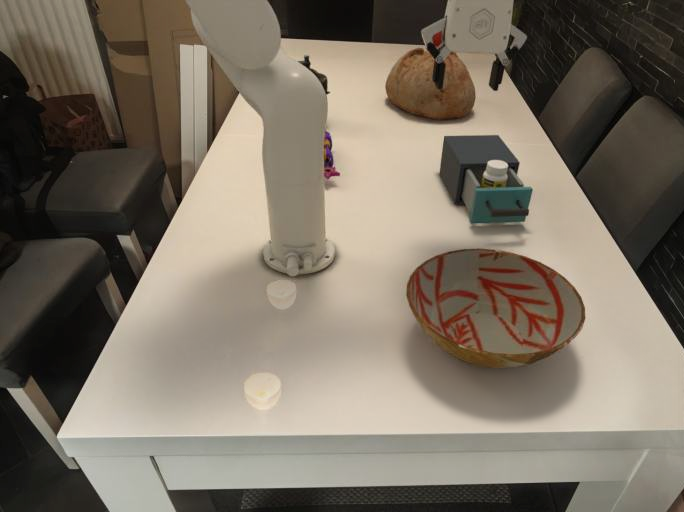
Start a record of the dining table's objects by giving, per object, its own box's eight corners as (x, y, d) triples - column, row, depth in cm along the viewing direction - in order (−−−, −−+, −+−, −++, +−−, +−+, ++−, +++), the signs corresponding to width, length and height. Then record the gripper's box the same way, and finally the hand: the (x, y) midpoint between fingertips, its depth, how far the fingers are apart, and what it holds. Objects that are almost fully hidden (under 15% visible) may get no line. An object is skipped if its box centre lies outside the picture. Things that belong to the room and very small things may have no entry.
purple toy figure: (336, 142, 136) (335, 90, 127) (340, 189, 117) (340, 131, 109) (276, 142, 134) (272, 90, 126) (271, 189, 116) (266, 131, 108)
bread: (487, 118, 152) (497, 60, 142) (411, 127, 145) (416, 66, 135) (444, 88, 170) (450, 34, 160) (374, 95, 163) (376, 39, 153)
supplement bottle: (476, 207, 109) (483, 166, 104) (479, 196, 113) (486, 157, 107) (500, 211, 108) (508, 170, 103) (503, 200, 112) (511, 160, 106)
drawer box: (510, 202, 116) (519, 162, 110) (454, 204, 114) (460, 163, 108) (491, 172, 126) (498, 134, 120) (439, 174, 125) (444, 135, 119)
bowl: (544, 289, 93) (556, 249, 87) (593, 399, 74) (612, 357, 69) (397, 287, 92) (400, 246, 86) (409, 399, 73) (414, 356, 68)
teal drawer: (533, 234, 104) (542, 201, 100) (477, 237, 103) (483, 203, 98) (504, 191, 117) (510, 160, 113) (454, 192, 116) (458, 161, 111)
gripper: (434, -33, 78) (420, 93, 89) (549, -27, 80) (521, 96, 91) (424, -41, 83) (411, 79, 94) (531, -34, 86) (507, 82, 97)
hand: (465, 87), depth 93 cm, fingers open, 9 cm apart
